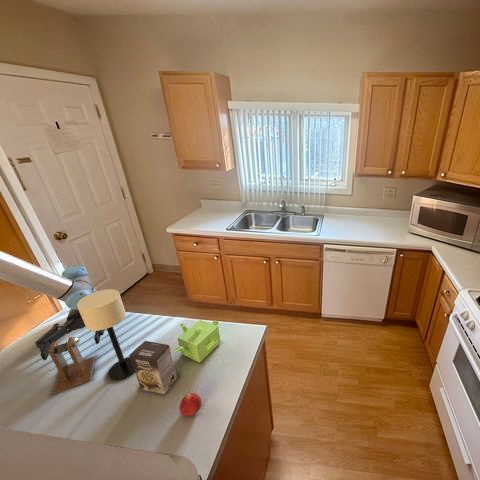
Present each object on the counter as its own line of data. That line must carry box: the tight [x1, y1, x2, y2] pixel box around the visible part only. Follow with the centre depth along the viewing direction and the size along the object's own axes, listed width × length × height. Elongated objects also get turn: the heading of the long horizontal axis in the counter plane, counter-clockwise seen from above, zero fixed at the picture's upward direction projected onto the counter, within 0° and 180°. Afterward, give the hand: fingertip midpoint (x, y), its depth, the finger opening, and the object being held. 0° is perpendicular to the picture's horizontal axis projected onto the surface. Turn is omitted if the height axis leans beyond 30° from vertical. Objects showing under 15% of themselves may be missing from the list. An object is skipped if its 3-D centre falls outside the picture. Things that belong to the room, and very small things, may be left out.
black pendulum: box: [56, 336, 81, 354], centre depth 85 cm, size 12×4×4 cm, turn 34°
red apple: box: [179, 392, 202, 417], centre depth 76 cm, size 6×6×8 cm
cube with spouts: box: [174, 319, 221, 363], centre depth 97 cm, size 15×14×11 cm
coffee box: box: [128, 340, 178, 395], centre depth 82 cm, size 9×6×16 cm
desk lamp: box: [77, 288, 135, 381], centre depth 83 cm, size 10×10×31 cm
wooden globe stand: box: [49, 336, 96, 395], centre depth 84 cm, size 11×9×15 cm
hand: (71, 348), depth 87 cm, fingers open, 13 cm apart
